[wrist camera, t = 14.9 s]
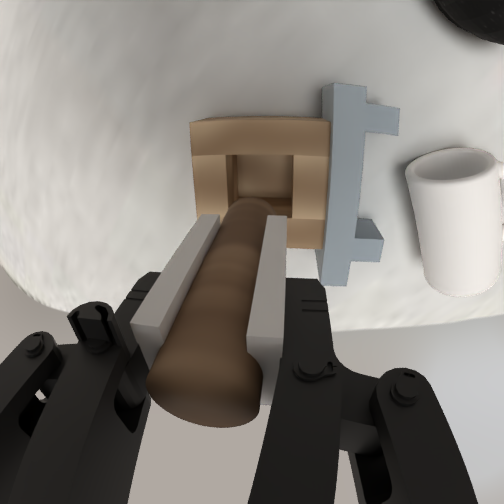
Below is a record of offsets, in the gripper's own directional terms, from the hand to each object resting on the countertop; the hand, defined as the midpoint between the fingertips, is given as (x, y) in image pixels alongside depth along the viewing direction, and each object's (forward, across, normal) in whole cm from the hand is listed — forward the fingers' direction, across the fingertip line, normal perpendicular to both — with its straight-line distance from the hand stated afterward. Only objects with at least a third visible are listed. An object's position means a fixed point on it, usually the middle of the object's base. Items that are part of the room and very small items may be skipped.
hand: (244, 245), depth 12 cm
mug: (+13, +18, -1) cm, 23 cm away
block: (+13, 0, 0) cm, 13 cm away
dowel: (+3, 0, 0) cm, 3 cm away
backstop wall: (+13, +7, 0) cm, 15 cm away
